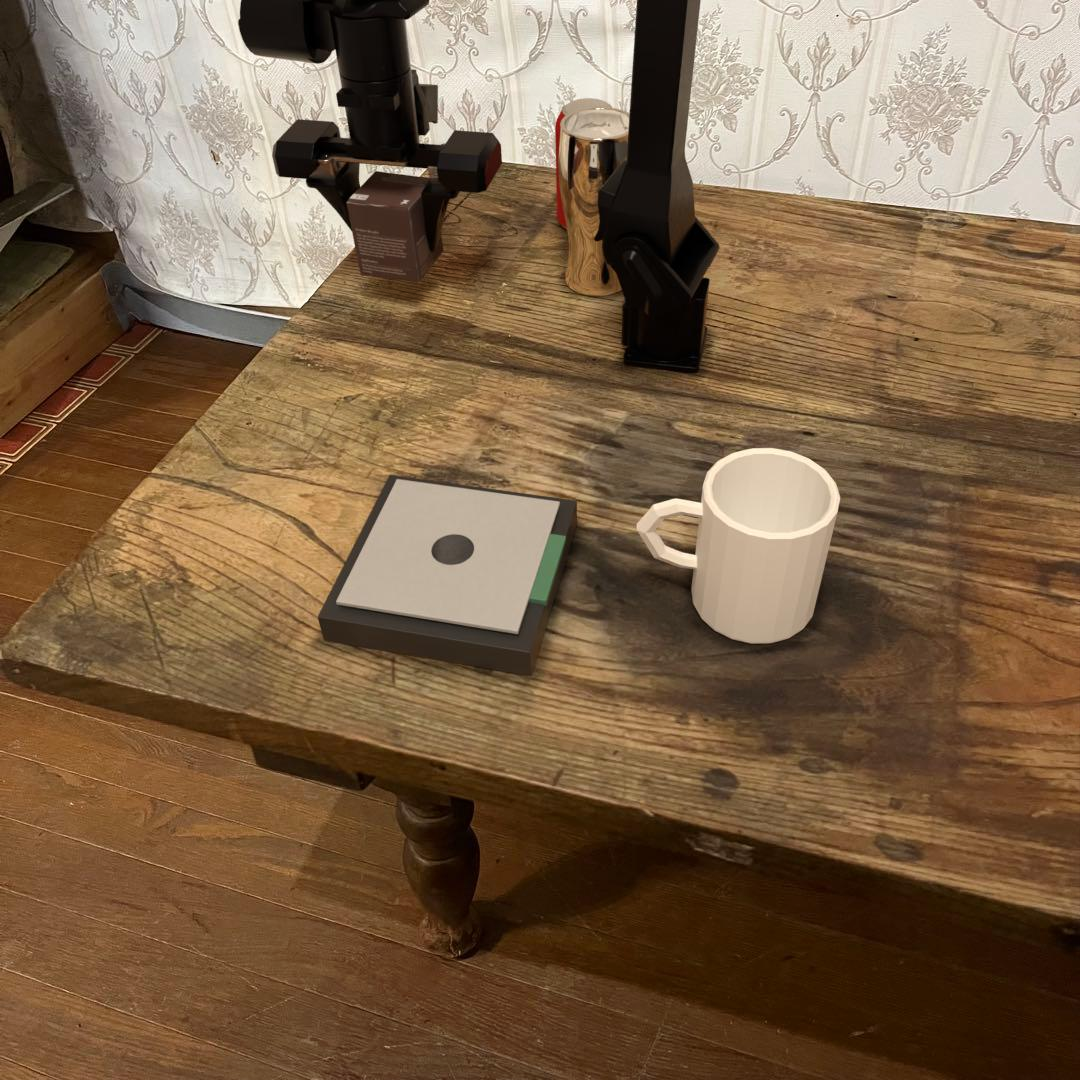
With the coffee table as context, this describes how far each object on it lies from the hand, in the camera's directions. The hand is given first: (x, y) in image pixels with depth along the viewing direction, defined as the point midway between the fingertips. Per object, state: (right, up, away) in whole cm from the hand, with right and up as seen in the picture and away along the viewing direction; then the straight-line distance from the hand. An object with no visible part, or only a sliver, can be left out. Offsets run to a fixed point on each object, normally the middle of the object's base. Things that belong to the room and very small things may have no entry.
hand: (400, 246), depth 93 cm
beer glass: (+18, -2, +5) cm, 19 cm away
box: (0, -1, +1) cm, 2 cm away
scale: (+7, -29, -22) cm, 38 cm away
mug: (+25, -31, -24) cm, 46 cm away
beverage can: (+17, +5, +12) cm, 22 cm away
